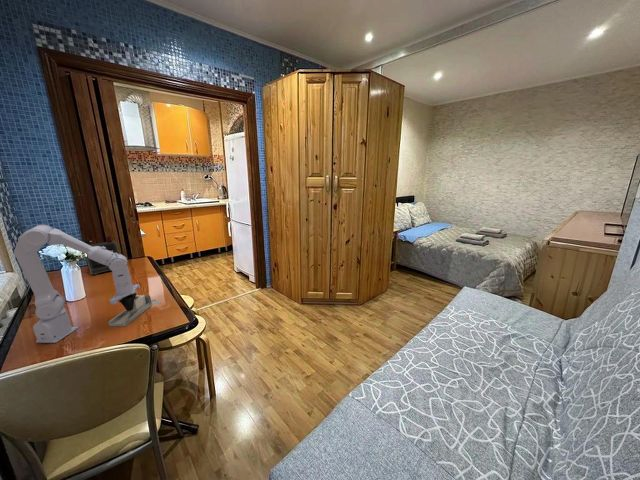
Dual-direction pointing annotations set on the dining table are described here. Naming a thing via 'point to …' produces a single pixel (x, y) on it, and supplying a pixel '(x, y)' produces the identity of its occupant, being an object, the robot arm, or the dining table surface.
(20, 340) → the dining table surface
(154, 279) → the dining table surface
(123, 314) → the rail
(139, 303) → the module
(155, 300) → the mounting bracket
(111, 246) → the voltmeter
